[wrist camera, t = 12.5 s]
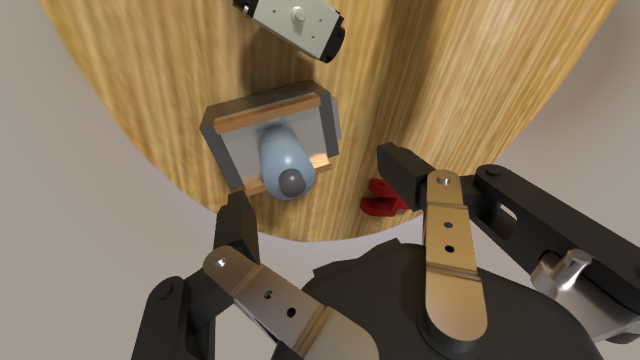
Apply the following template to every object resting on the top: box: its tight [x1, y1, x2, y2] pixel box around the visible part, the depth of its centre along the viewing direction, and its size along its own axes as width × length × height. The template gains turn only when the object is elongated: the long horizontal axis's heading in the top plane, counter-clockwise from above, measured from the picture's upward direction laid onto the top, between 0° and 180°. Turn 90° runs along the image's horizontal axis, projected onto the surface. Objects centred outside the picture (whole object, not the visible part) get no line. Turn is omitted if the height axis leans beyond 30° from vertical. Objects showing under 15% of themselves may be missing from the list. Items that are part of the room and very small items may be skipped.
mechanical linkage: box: [360, 179, 411, 217], centre depth 55 cm, size 16×7×5 cm, turn 75°
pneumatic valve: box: [232, 0, 345, 63], centre depth 27 cm, size 6×12×12 cm, turn 62°
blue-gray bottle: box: [258, 126, 316, 200], centre depth 26 cm, size 5×5×10 cm
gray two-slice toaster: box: [199, 79, 342, 197], centre depth 33 cm, size 17×10×13 cm, turn 101°
